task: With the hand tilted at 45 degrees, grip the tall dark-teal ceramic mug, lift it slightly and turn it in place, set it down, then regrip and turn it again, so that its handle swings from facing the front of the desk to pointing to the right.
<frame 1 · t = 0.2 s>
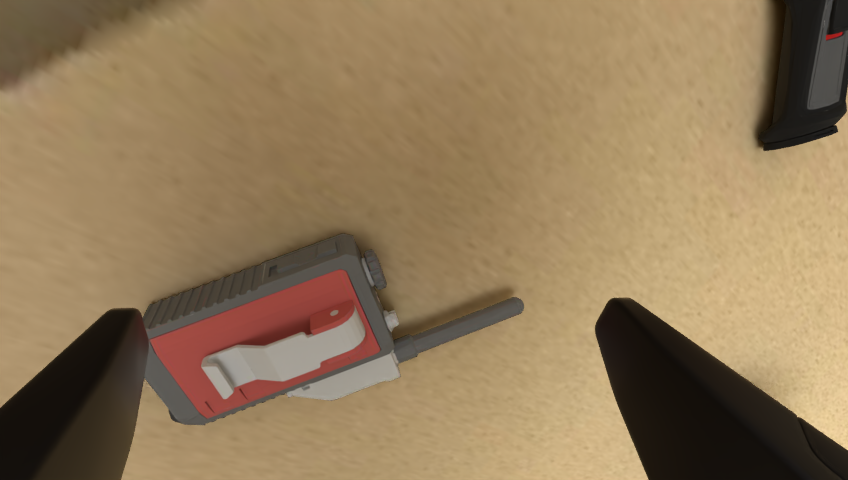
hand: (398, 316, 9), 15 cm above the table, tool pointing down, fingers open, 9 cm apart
electric trimmer: (787, 6, 25), on the table
walkie-talkie: (335, 305, 27), on the table
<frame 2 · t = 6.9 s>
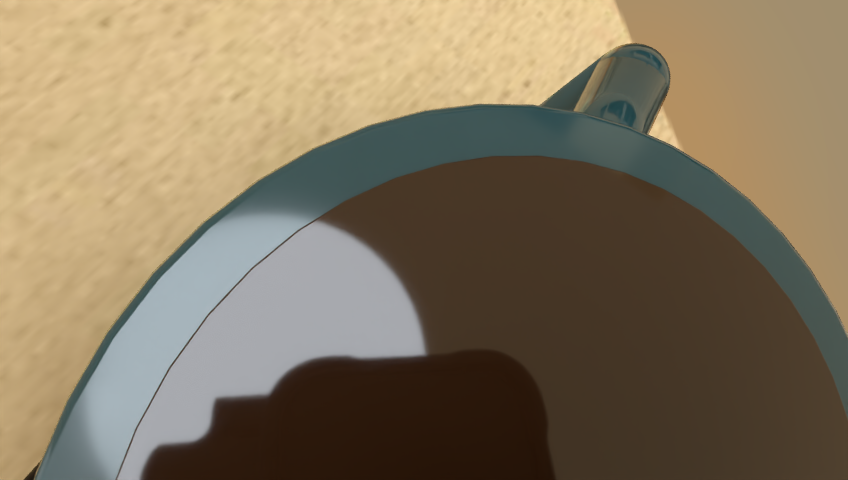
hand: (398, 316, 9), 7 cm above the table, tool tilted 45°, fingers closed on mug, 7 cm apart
mug: (441, 202, 17), on the table, touching gripper
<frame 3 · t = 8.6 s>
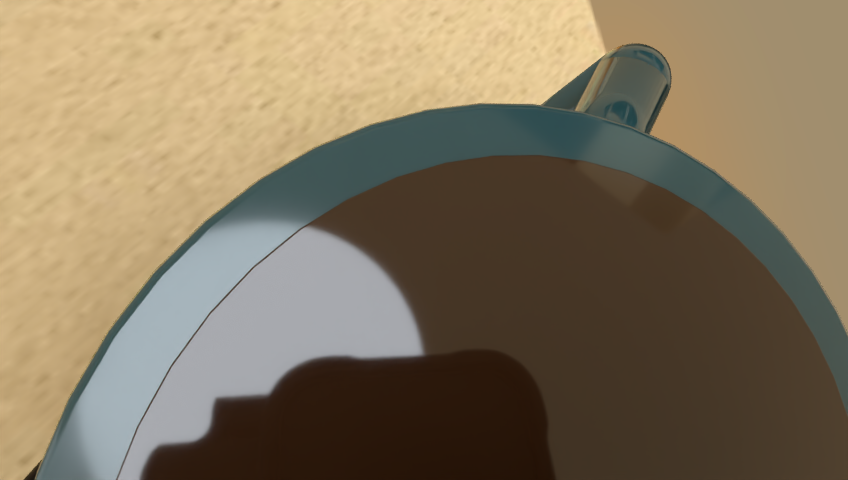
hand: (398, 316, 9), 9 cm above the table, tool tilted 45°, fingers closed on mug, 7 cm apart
mug: (441, 202, 17), point 2 cm above the table, touching gripper
when the fingers open (7 cm above the table, at t = 10.3 s): mug stays where it is, on the table.
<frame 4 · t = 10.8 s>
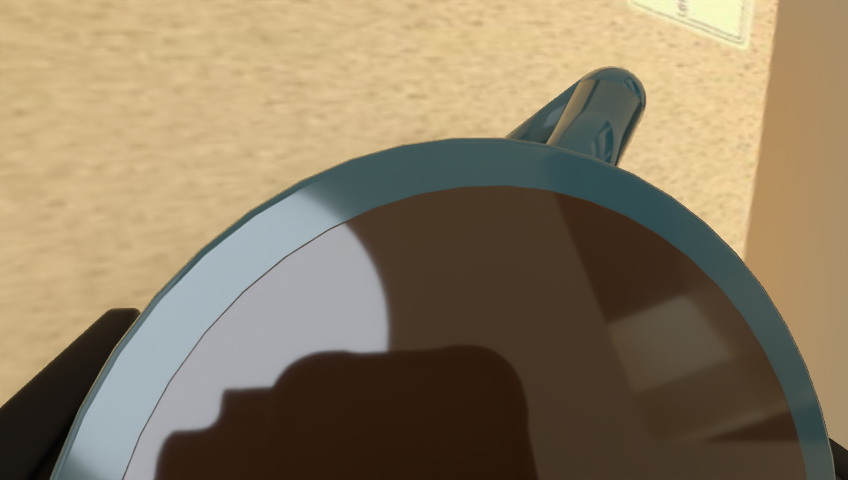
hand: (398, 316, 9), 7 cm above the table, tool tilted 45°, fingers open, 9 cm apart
mug: (436, 209, 17), on the table
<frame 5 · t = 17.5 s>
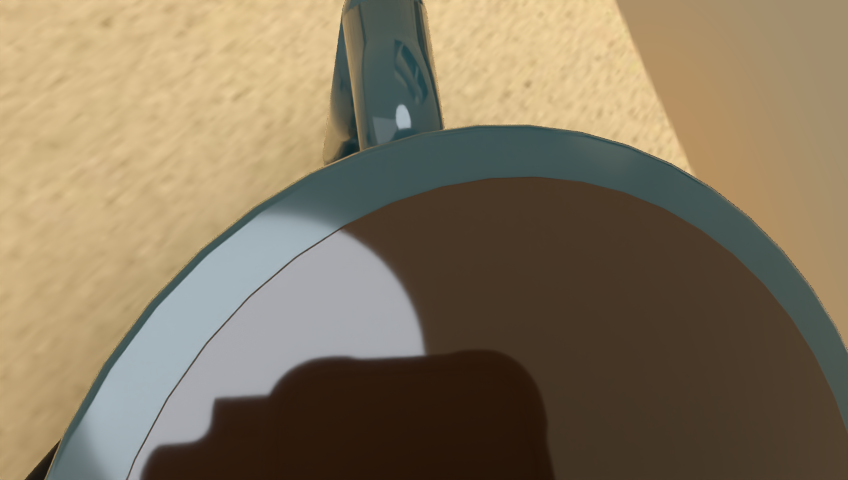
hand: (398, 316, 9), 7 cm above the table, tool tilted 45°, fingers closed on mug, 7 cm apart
mug: (335, 183, 16), on the table, touching gripper
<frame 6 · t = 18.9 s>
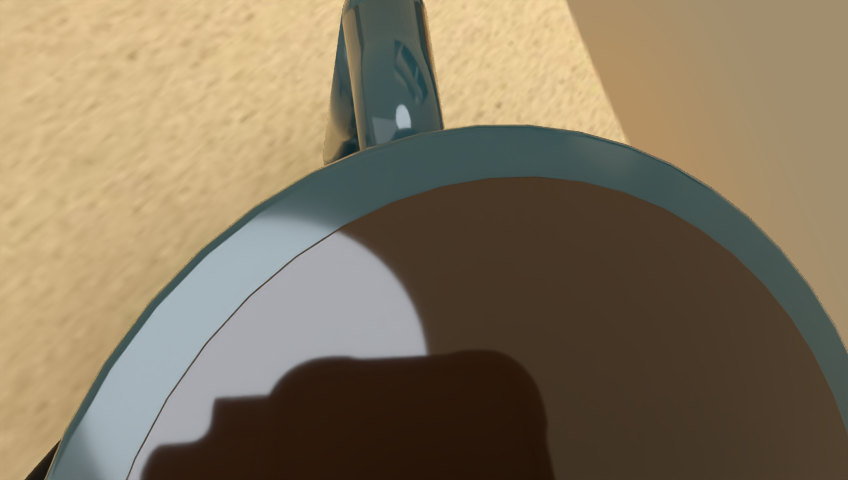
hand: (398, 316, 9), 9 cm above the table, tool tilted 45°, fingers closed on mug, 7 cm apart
mug: (335, 183, 16), point 3 cm above the table, touching gripper
when the fingers open (7 cm above the table, at t = 20.8 s): mug stays where it is, on the table.
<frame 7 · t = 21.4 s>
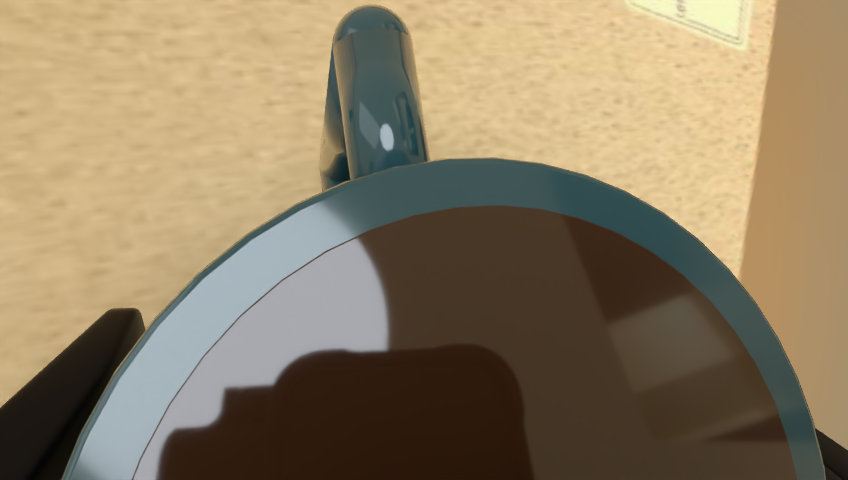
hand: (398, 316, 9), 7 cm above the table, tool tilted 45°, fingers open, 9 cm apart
mug: (332, 191, 16), on the table
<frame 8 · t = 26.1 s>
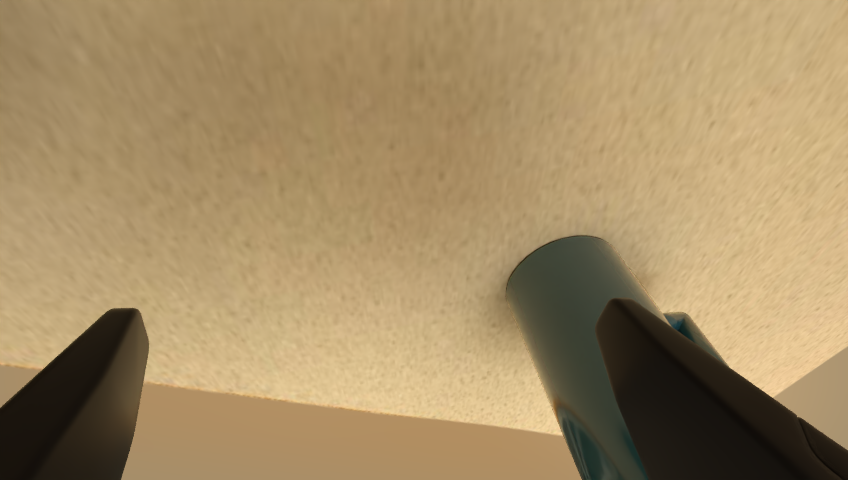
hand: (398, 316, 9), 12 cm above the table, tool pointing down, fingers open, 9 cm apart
mug: (647, 277, 29), on the table
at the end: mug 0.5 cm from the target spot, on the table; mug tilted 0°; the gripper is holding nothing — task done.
